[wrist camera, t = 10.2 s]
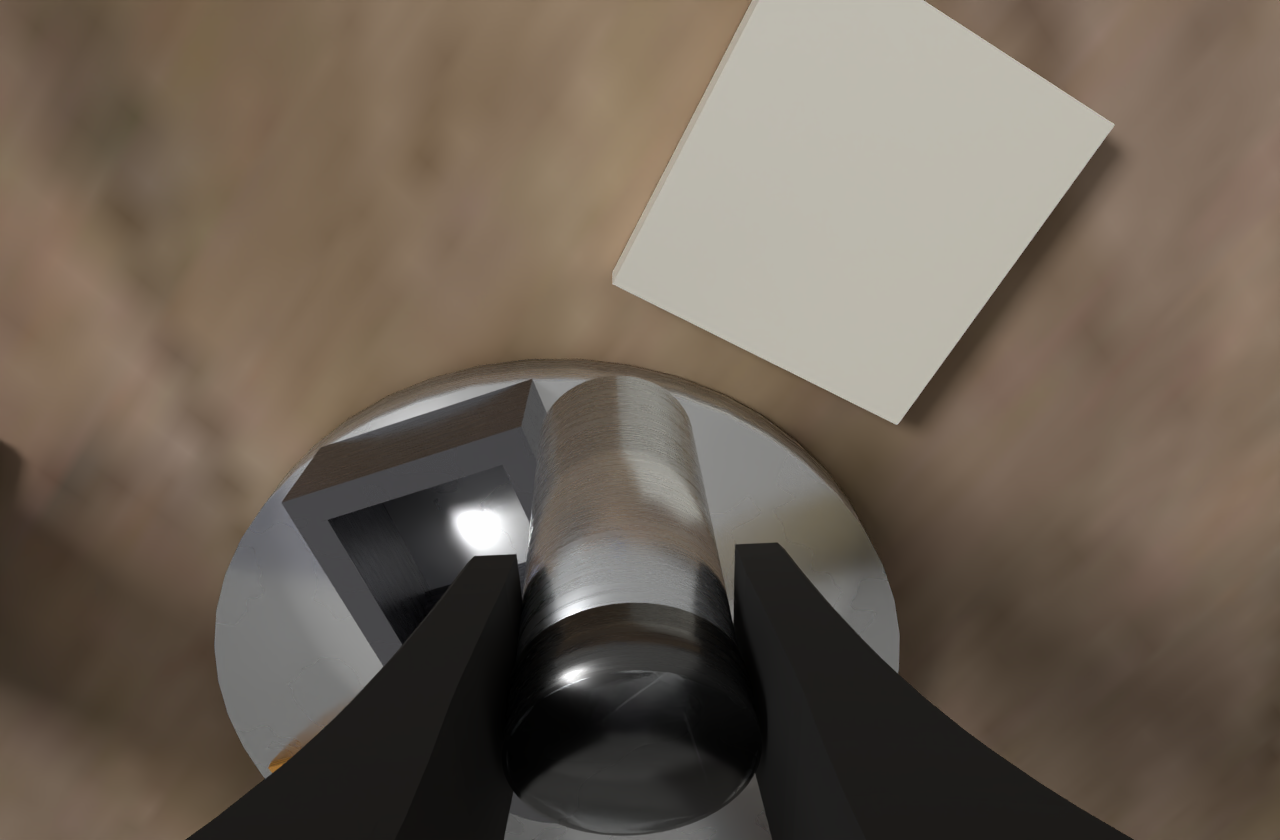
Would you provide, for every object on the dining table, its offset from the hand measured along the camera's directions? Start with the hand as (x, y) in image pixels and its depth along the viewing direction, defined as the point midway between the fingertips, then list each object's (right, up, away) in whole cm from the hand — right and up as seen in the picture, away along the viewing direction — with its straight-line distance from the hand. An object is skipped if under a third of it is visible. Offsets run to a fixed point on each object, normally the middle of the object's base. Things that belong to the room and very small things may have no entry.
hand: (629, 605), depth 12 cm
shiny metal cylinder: (0, +2, +4) cm, 5 cm away
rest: (+5, +8, +7) cm, 12 cm away
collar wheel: (-2, -4, +13) cm, 13 cm away
